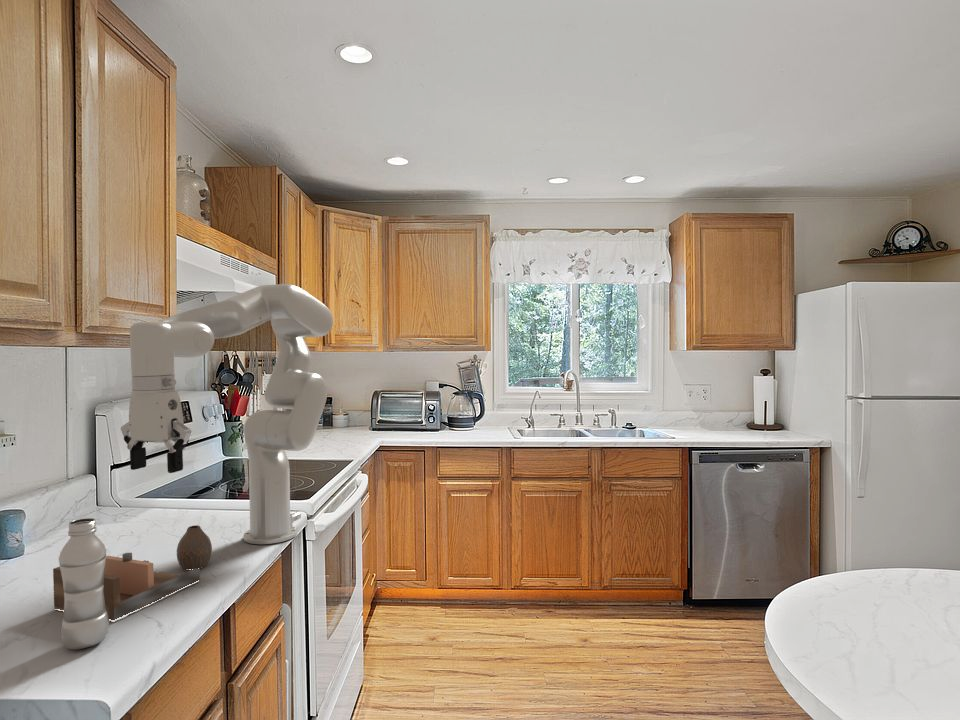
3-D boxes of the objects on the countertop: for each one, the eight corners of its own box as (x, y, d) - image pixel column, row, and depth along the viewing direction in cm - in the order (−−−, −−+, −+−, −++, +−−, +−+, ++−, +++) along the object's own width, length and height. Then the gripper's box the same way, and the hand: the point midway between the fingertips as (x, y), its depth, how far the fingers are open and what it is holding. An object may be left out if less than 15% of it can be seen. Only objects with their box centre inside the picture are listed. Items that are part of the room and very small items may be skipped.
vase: (173, 574, 126) (172, 533, 126) (180, 563, 133) (179, 523, 132) (209, 571, 128) (208, 530, 128) (214, 559, 135) (213, 521, 134)
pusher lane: (144, 572, 127) (144, 536, 127) (200, 581, 122) (199, 544, 122) (54, 610, 109) (53, 568, 109) (114, 622, 104) (113, 579, 104)
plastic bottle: (118, 633, 100) (115, 514, 100) (93, 654, 94) (90, 527, 93) (78, 634, 100) (75, 515, 100) (50, 655, 93) (47, 528, 93)
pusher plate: (109, 587, 118) (108, 549, 118) (154, 595, 114) (154, 556, 114) (102, 590, 116) (101, 551, 116) (147, 598, 112) (146, 559, 112)
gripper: (202, 383, 120) (205, 468, 121) (137, 382, 126) (140, 463, 127) (171, 387, 113) (174, 477, 114) (104, 385, 119) (107, 471, 120)
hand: (156, 469), depth 120 cm, fingers open, 9 cm apart
